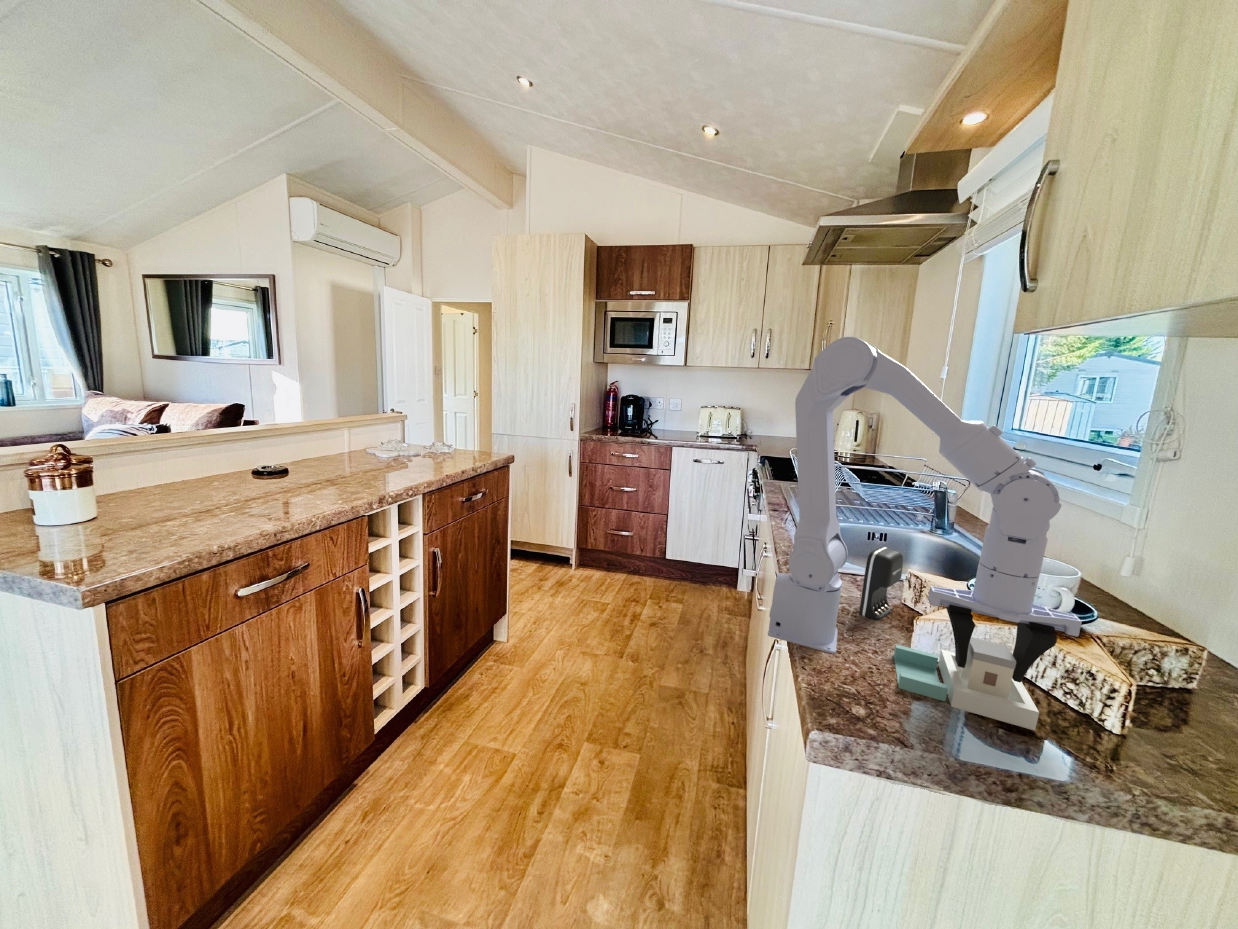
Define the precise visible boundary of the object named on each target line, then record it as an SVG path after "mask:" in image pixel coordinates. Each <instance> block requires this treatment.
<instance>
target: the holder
mask: <svg viewBox="0 0 1238 929" xmlns="http://www.w3.org/2000/svg"><path fill="white" fill-rule="evenodd" d="M893 661H894V665H895V666H894V667H895V673H896V680H897V686H898V687H897V688H898V689H901V690H904V691H906V692H910V693H914V694H917V695H921V696H925V697H927V698H931V699H935V700H939V701H942V702H946V701H947V697H948V694H947V690H948V688H947V685H946V684H944V682H943V683H942V682H940V679H939V675H938V671H937V667H938V663H939V657H938V654H937V653H936V654H935V653H931V652H927V651H923V650H919V649H916V648H913V647H912V648H911V647H907V646H903V645H899V644H895V647H894V652H893Z"/></svg>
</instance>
